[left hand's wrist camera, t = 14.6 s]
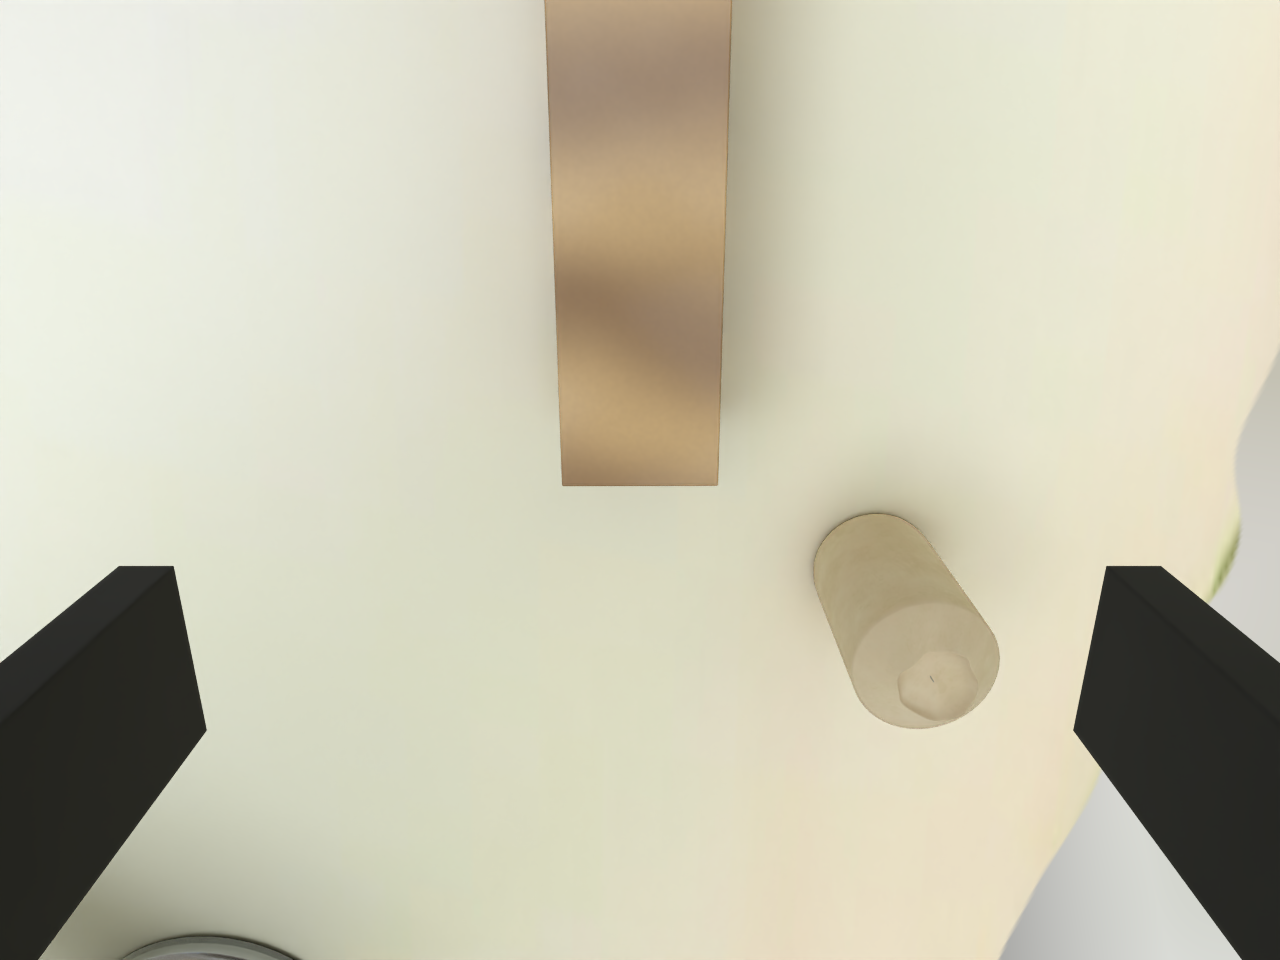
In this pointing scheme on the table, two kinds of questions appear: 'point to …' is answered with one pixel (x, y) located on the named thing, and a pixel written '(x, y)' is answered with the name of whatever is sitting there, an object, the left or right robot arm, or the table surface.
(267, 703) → the table surface
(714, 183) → the beam
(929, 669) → the candle
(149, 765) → the left robot arm
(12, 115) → the table surface
